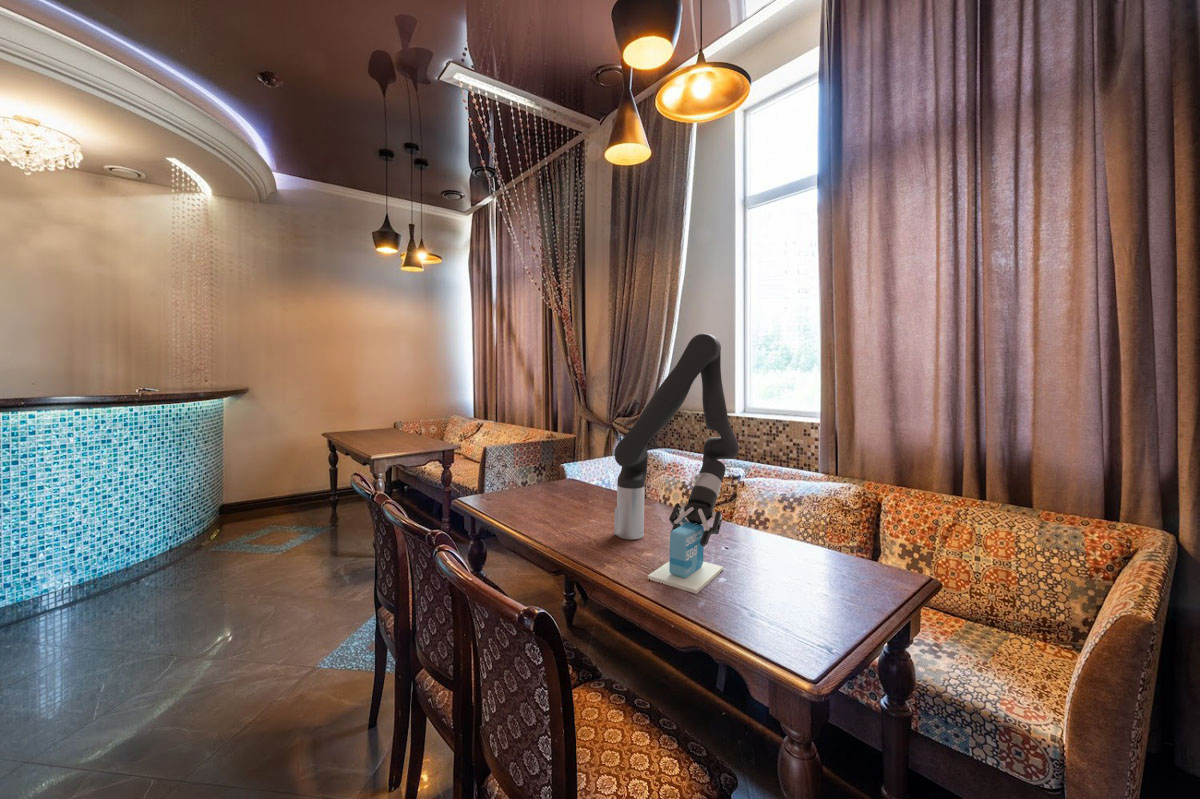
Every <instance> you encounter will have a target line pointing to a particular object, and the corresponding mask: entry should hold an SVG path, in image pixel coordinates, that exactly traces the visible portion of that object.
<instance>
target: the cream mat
mask: <svg viewBox="0 0 1200 799" xmlns="http://www.w3.org/2000/svg"><path fill="white" fill-rule="evenodd" d="M669 562H670V560H668V561H667V562H666V563H664V564H662V566H660V567H658V568H657V569H656V570H654V571H652V572H651V573H649V574H648V575H647V580H649V579H650V581H653V582H656V583H659V582H660V584H662V583H663V585H665V586H669V587H672V588H675V589H679V590H683V591H685V592H688V593H693V594H695V595H697V594H698V593H700V592H701V591H702V590H703V589H704V588H705V587H706V586H708V585H709V584H710V583H711V582H712V581H713V580H714V579H715V578H716V577H718V576H719V575H720V574H721V573H720V572H721V571H722V570H723V571H724V566H722V565H718V564H716V563H715V564H714V563H711V562H707V561H704V560H703V564H702V566H701V567H700V568H699V569H697V570H696V571H695V572H694V573H692V574H691V575H690V576H688V577H687V578H683V577H680V576H676V575H673V574H671V573H670V571H669ZM723 571H722V572H723Z"/></svg>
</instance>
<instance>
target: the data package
mask: <svg viewBox="0 0 1200 799" xmlns="http://www.w3.org/2000/svg"><path fill="white" fill-rule="evenodd" d="M671 531H672V530H671ZM671 531H670V534H669V561H670V562H669V561H668V562H669V571H670V573H671V574H673V575H676V576H680V577H683V578H687V577H688V576H690V575H691V574H692V573H694V572H695V571H696V570H697V569H699V568H700V567H701V566H702V564H703V561H704V547H705V546H704V547H703V546H701V544H700V541H701V538H702V535H703V532H704V531H705V527H704V525H703V524H701V525H699V524H696V523H690V522H687V523H686V524H684V525H682V526H680V527H678V528H676V529H675V530H673V531H672V532H671Z"/></svg>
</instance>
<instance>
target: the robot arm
mask: <svg viewBox="0 0 1200 799" xmlns="http://www.w3.org/2000/svg"><path fill="white" fill-rule="evenodd" d="M721 346H722V345H721V342H720V341H719V339H718V338H717V337H716V336H714V335H712V334H710V333H709V334H708V333H698V334H696V335H694V336H693V337H692V338H691V339H690V341H689V342H688V343H687V345H686V347H685V349H684V351H683V353H682V355H681V357H680V358H679V360H678V362H677V363H676V365H675V366H674V367H673V369H672V370H671V372H670V373H669V374H667V377H666V378H665V379H664V380H663V382H661V385H659V387H658V388H657V389H656V391H655V393H653V395H652V397H650V399H649V401H648V403H647V404H646V406H645V407H644V409H643V411H642V412H641V413H640V415H639V416H638V418H637V419H636V421H635V423H634V425H633V426H632V427H631V428H630V430H629V431H628V432H627V433H626V434H625V435H624V436H623V437H622V439H621V440H620V441H619V442H618V443H617V444H616V447H614V448H615V449H614V460H615V462H616V463H617V465H619V466H620V467H621V469H620V472H619V475H618V477H617V482H616V483H617V484H616V485H617V486H616V487H617V491H616V492H617V493H616V494H617V495H616V499H617V500H616V502H617V503H616V506H615V507H614V524H613V525H614V527H613V529H614V531H613V534H614V535H615V536H617V537H618V538H620V539H623V540H630V541H632V540H639V539H642V538H643V537H644V534H645V533H644V532H645V527H644V526H645V525H644V524H645V489H646V488H645V481H646V479H647V474H648V447H647V445H648V444H649V442H650V441H651V440H652V439H653V438H654V436H656V435H657V433H659V432H660V431H661V430H662V429H663V428H664V427H665V426H666V425H667V424H668V423H669V422H670V421H671V420H672V419H673V417H674V416H676V414H677V412H678V411H679V410H680V408H681V407H682V406H683V404H684V402H685V400H686V398H687V397H688V393H689V392H690V389H691V387H692V384H693V383H694V381H695V380H696V378H697V377H698V376H699V374H700V377H701V387H702V388H701V391H702V392H701V393H702V394H701V396H702V409H703V416H704V422H705V427H706V428H707V430H710V431H713V432H716V433H718V434H719V436H714V437H713V436H712V437H709V438H708V439H707V440H706V441H705V443H704V444H703V449H702V450H703V451H702V452H703V455H702V465H701V468H700V471H699V473H698V476H697V477H696V479H695V481H694V484H693V487H692V489H691V491H690V494H689V497H688V500H687V503H686V505H681V504H680V503H679V502H676V504H675V505H674V507H673V509H672V512H671V514H670V516H669V518H668V520H669V522H670V523H671V526H672V528H671V531H670V533H671V532H672V531H673V530H675V529H676V528H678V527H680V526H682V525H684V524H686V523H687V522H690V523H695V524H699V525H703V527H704V532H703V535H702V538H701V541H700V544H701V546H703V547H705V546H707V545H708V543H709V540H710V538H711V535H719V533H720V530H721V525H722V523H723V515H722V513H721V512H722V511H720V510H717V511H714V510H715V509H714V508H715V506H716V503H717V501H718V497H719V496H720V492H721V486H722V483H723V480H724V477H725V474H726V470H727V468H726V466H725V464H724V463H723V462H722V461H720V460H733V459H736V457H737V456H738V454H739V452H740V450H739V449H740V445H739V442H738V440H737V438H736V436H735V434H734V433H735V432H734V431H733V428H732V426H731V424H730V421H729V417H728V410H727V403H726V399H725V393H724V387H723V381H722V380H723V378H722V371H721V370H722V369H721V367H722V366H721V364H722V363H721V360H722V357H721V356H722V355H721V353H722V351H721V350H722V347H721ZM712 518H713V524H712V526H711V527H710V525H709V522H708V521H709V520H710V519H712Z"/></svg>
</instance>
